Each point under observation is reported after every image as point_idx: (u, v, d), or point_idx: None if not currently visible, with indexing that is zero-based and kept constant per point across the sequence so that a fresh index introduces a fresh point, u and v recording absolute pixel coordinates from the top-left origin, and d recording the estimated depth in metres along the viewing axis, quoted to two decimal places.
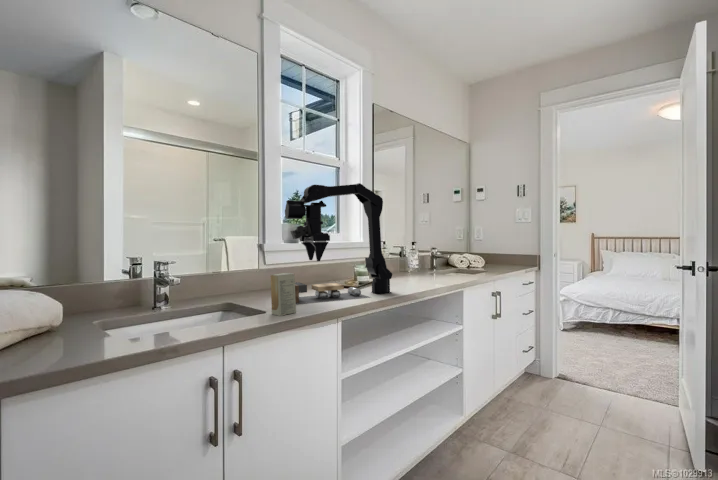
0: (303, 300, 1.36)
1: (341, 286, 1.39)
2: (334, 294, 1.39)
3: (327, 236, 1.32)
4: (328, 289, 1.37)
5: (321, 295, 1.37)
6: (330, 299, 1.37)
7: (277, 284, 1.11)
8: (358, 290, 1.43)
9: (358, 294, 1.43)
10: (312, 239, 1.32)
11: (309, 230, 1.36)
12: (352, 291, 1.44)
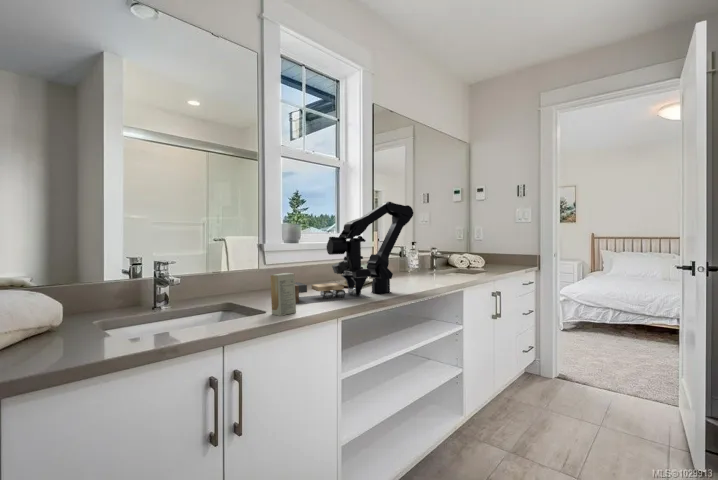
0: (303, 300, 1.36)
1: (341, 286, 1.39)
2: (341, 291, 1.40)
3: (369, 272, 1.38)
4: (328, 289, 1.37)
5: (329, 292, 1.38)
6: (330, 299, 1.37)
7: (277, 284, 1.11)
8: None
9: None
10: (354, 275, 1.37)
11: (350, 265, 1.42)
12: (352, 291, 1.44)
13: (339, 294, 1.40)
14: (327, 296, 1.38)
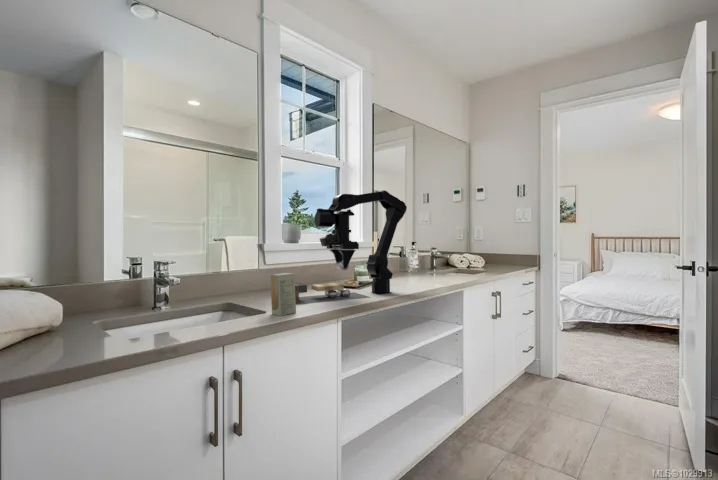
0: (303, 300, 1.36)
1: (341, 286, 1.39)
2: (348, 292, 1.41)
3: (356, 244, 1.36)
4: (328, 289, 1.37)
5: (336, 292, 1.39)
6: (330, 299, 1.37)
7: (277, 284, 1.10)
8: None
9: (346, 268, 1.41)
10: (342, 247, 1.35)
11: (338, 238, 1.40)
12: (340, 264, 1.42)
13: (345, 291, 1.41)
14: (331, 293, 1.39)
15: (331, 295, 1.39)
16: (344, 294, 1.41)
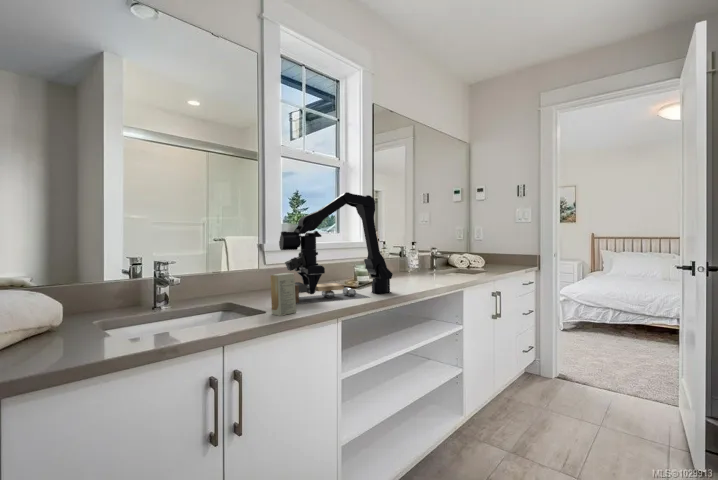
0: (303, 300, 1.36)
1: (341, 286, 1.39)
2: (353, 295, 1.42)
3: (322, 269, 1.30)
4: (328, 289, 1.37)
5: (331, 292, 1.38)
6: (330, 299, 1.37)
7: (277, 284, 1.10)
8: None
9: None
10: (306, 272, 1.30)
11: (304, 262, 1.34)
12: None
13: (354, 291, 1.42)
14: (328, 295, 1.38)
15: (329, 297, 1.38)
16: (351, 290, 1.42)
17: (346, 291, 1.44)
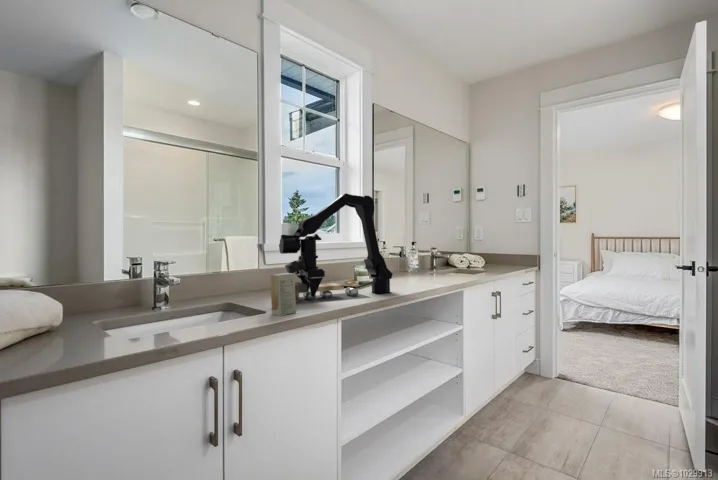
0: (303, 300, 1.36)
1: (341, 286, 1.39)
2: (354, 295, 1.42)
3: (322, 272, 1.30)
4: (328, 289, 1.37)
5: (327, 292, 1.38)
6: (330, 299, 1.37)
7: (277, 284, 1.10)
8: None
9: (312, 298, 1.36)
10: (306, 275, 1.30)
11: (304, 265, 1.34)
12: (306, 295, 1.36)
13: (357, 293, 1.43)
14: (327, 296, 1.38)
15: (328, 297, 1.38)
16: (355, 290, 1.43)
17: (350, 289, 1.44)
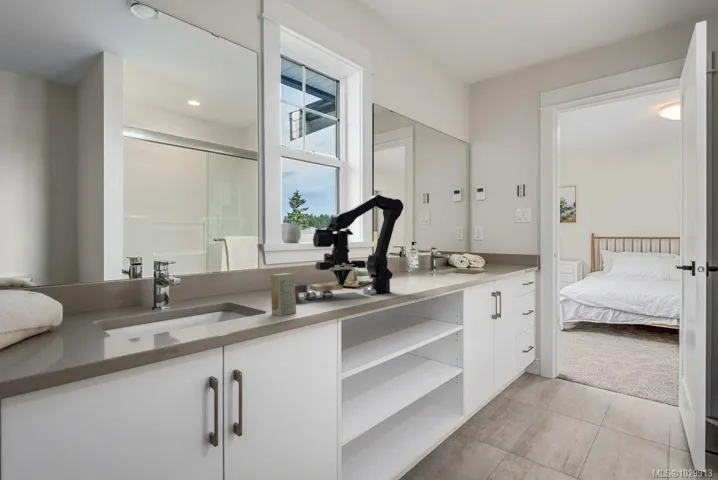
0: (303, 300, 1.36)
1: (340, 286, 1.39)
2: (373, 294, 1.46)
3: (319, 265, 1.38)
4: (327, 289, 1.37)
5: (328, 292, 1.38)
6: (330, 299, 1.37)
7: (277, 284, 1.10)
8: (313, 294, 1.36)
9: (313, 298, 1.36)
10: None
11: (331, 258, 1.45)
12: (307, 294, 1.36)
13: (375, 291, 1.46)
14: (327, 296, 1.38)
15: (329, 297, 1.38)
16: (372, 290, 1.46)
17: (367, 290, 1.47)
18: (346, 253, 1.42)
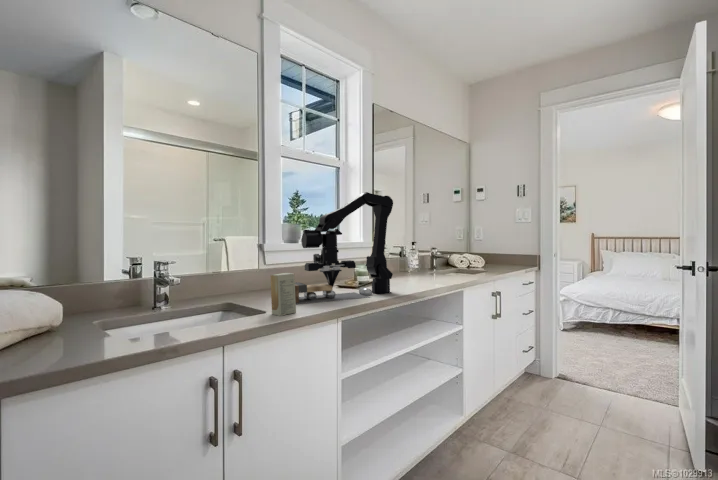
0: (303, 300, 1.36)
1: (330, 287, 1.37)
2: (370, 292, 1.45)
3: (308, 266, 1.36)
4: (316, 290, 1.35)
5: (333, 292, 1.39)
6: (330, 299, 1.37)
7: (277, 284, 1.10)
8: (314, 294, 1.36)
9: (313, 298, 1.36)
10: None
11: (320, 258, 1.43)
12: (307, 294, 1.36)
13: (368, 290, 1.45)
14: (329, 294, 1.38)
15: (330, 296, 1.38)
16: (366, 292, 1.45)
17: None
18: (335, 253, 1.40)
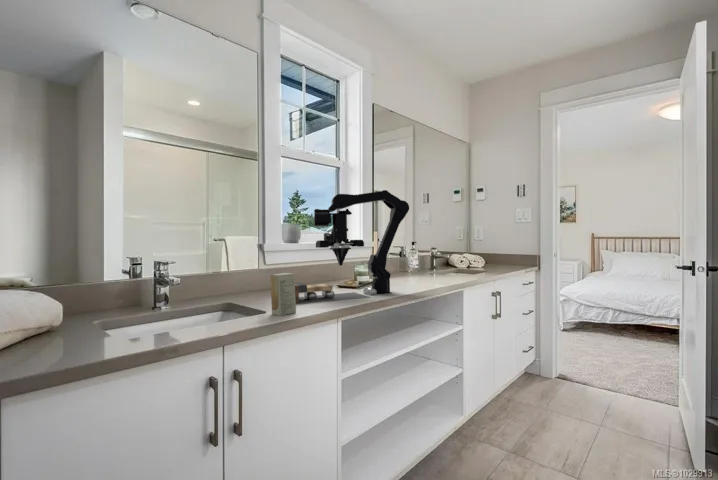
0: (303, 300, 1.36)
1: (330, 287, 1.37)
2: (373, 294, 1.46)
3: (319, 243, 1.43)
4: (316, 290, 1.35)
5: (331, 292, 1.39)
6: (330, 299, 1.37)
7: (277, 284, 1.10)
8: (314, 294, 1.36)
9: (313, 298, 1.36)
10: None
11: (330, 237, 1.50)
12: (308, 294, 1.36)
13: (375, 292, 1.46)
14: (328, 295, 1.38)
15: (329, 297, 1.38)
16: (373, 290, 1.46)
17: (367, 290, 1.48)
18: (345, 232, 1.47)
